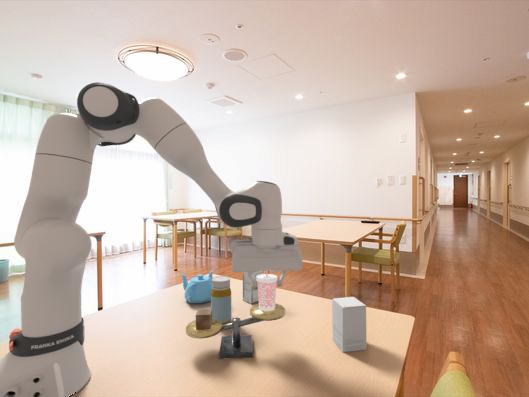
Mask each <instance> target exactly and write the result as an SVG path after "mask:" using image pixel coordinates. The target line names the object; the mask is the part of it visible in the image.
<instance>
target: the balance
mask: <svg viewBox="0 0 529 397" xmlns="http://www.w3.org/2000/svg"><path fill="white" fill-rule="evenodd" d="M249 313H250V314H249V315H250V316H251V317H249V318H245V319H241V318H240V317H233V318H231V322H230V323H229V324H225V325H222V322H221V321H220V320H218V319H214V318H212V325H211V329H198V330H196V319H195V320H192V321H190V322H189V323H187V325H186V326H185V333H186V335H187V336H188V337H190V338H193V339H200V340H201V339H208V338H211V337H214V336H216V335H218V334H220V333H221V332H225V331H229V330H231V335H225V336H221V338H220V339H221V340H220V345H219V352H218V353H219V355H218V357H219V358H218V359H219V360H226V359H227V360H229V359H245V358H247V359H248V358H254V348H253V336H252V334H247V335H245V334H244V335H241V334H242V332H241V327H244V326H249V325H252V324H256V323H260V322H263V321H264V322H265V321H266V322H270V321H277V320H280V319H282V318H283V317H285V315H286V309H285V307H284V306H283V305H282V304H279V303H276V302H275V309H274V310H272V311H262V310H260V309H259V303H256V304H254V305H252V306H251V307H250V309H249Z"/></svg>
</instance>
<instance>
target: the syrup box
mask: <svg viewBox="0 0 529 397" xmlns="http://www.w3.org/2000/svg"><path fill="white" fill-rule="evenodd" d="M261 274H263V271H254V272H253V275H252V277H253V279H256V277H257V276H258V275H261ZM256 280H257V279H256ZM242 301H244V302H246V303H249V304H251V305H252V304H255V303H259V300H258V284H257V287H252V286H251V280H250V278H249V277H248V272H242Z"/></svg>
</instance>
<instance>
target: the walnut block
mask: <svg viewBox="0 0 529 397" xmlns="http://www.w3.org/2000/svg"><path fill="white" fill-rule="evenodd" d="M195 320H196V330H198V329H211V325H212V309H211V308H198V309H197V311H196V313H195Z"/></svg>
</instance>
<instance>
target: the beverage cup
mask: <svg viewBox="0 0 529 397" xmlns="http://www.w3.org/2000/svg"><path fill="white" fill-rule="evenodd" d="M256 279H257V284H258V300H259V301H258V304H259V309H260V310H262V311H272V310H274V309H275V303H276V293H277V279H278V275H276V274H272V273H269V271H265V273H262V274H261V275H258V276H257V277H256Z"/></svg>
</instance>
